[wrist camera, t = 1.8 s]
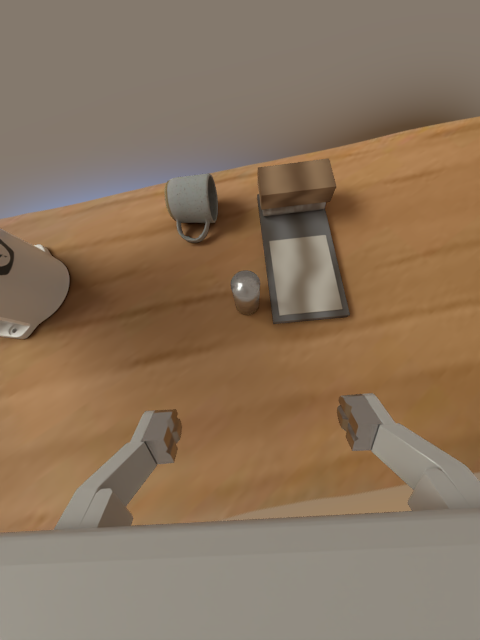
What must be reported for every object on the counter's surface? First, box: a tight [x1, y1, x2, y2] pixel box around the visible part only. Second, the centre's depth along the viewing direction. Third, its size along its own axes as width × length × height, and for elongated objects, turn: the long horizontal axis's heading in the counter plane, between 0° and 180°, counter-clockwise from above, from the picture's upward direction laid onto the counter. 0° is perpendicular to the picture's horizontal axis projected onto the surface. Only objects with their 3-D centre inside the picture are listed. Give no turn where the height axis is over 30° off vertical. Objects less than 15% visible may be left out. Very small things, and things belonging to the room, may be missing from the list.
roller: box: [231, 271, 260, 315], centre depth 33 cm, size 4×4×8 cm
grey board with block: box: [257, 159, 350, 324], centre depth 36 cm, size 12×26×7 cm, turn 5°
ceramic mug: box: [165, 174, 218, 243], centre depth 39 cm, size 11×8×8 cm
